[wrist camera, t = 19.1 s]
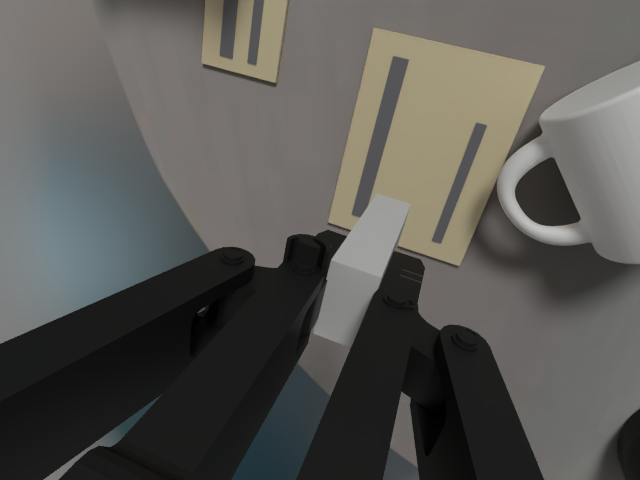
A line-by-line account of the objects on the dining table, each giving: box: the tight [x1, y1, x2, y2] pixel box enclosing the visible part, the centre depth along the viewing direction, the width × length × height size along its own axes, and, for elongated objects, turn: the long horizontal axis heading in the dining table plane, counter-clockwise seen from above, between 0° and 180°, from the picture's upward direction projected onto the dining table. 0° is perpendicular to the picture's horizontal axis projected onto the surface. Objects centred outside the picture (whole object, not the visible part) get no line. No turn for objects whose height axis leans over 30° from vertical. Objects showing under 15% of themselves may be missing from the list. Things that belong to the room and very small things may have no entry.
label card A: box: [202, 0, 289, 83], centre depth 32 cm, size 9×7×1 cm
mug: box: [497, 61, 640, 264], centre depth 25 cm, size 12×10×8 cm
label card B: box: [328, 28, 545, 266], centre depth 32 cm, size 16×12×1 cm
